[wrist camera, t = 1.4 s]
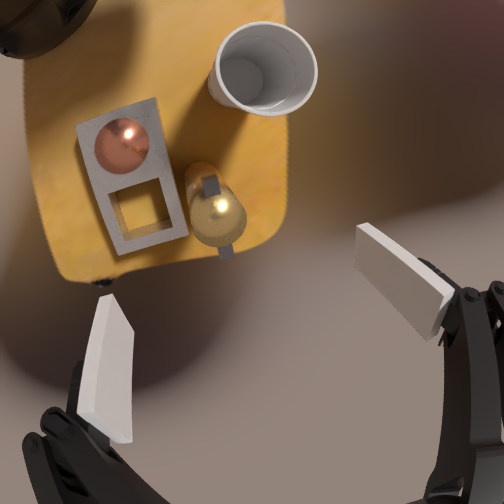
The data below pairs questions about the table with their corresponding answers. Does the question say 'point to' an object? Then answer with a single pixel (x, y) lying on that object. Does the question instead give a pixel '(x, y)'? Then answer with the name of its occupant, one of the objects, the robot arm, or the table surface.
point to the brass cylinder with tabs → (213, 208)
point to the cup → (263, 70)
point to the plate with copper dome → (131, 171)
